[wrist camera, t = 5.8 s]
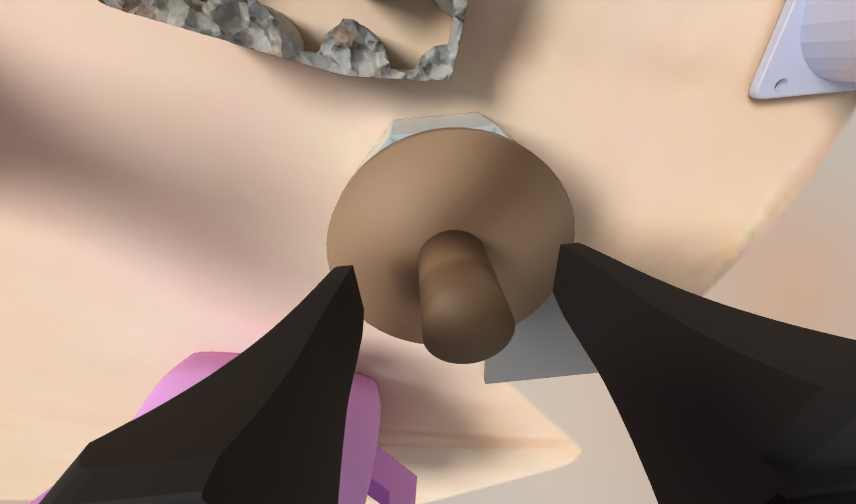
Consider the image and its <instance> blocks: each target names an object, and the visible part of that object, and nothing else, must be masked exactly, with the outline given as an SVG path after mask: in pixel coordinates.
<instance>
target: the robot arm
mask: <svg viewBox="0 0 856 504" xmlns="http://www.w3.org/2000/svg"><path fill="white" fill-rule="evenodd" d="M777 82H778V84H777V86H776V87H775V85H776V83H777ZM774 87H775V88H774ZM853 90H856V0H786V3H785V5H784V8H783V10H782V12H781V15H780V17H779V20H778V22H777V24H776V27H775V29H774V32H773V34H772V36H771V39H770V41H769V44H768V46H767V48H766V51H765V53H764V56H763V58H762V60H761V63H760V65H759V68H758V70H757V72H756V75H755V77H754V80H753V82H752V84H751V87H750V91H749V93H750V96H751V97H752V98H756V99H769V98H780V97H790V96H801V95H811V94H822V93H832V92H843V91H853ZM552 291H553V294H554V296H555V298H556V301H557V303H558V305H559V308H560V310H561V312H562V314H563V316H564V318H565V319H566V321H567V323H568V324H569V326H570V327H571V329H572V331H573V332H574V334H575V336H576V337H577V339H578V340H579V342H580V343H581V345H582V347H583V348H584V350H585V351H586V353H587V355H588V356H589V358H590V359H591V361H592V363H593V364H594V366H595V367H596V369H597V371H598V372H599V374H600V376H601V378H602V379H603V381H604V383H605V385H606V387H607V389H608V391H609V393H610V395H611V397H612V398H613V401H614V403H615V405H616V407H617V409H618V411H619V413H620V415H621V417H622V420H623V422H624V424H625V426H626V428H627V431H628V432H629V435H630V437H631V439H632V441H633V444H634V446H635V448H636V451H637V453H638V455H639V458H640V460H641V462H642V465H643V467H644V469H645V472H646V474H647V476H648V479H649V481H650V483H651V486H652V489H653V491H654V494H655V496H656V499H657V501H658V504H856V340H853V339H848V338H844V337H839V336H835V335H831V334H827V333H823V332H819V331H815V330H811V329H807V328H802V327H799V326H795V325H791V324H787V323H784V322H780V321H776V320H773V319H769V318H766V317H762V316H759V315H756V314H752V313H749V312H745V311H742V310H739V309H736V308H732V307H729V306H727V305H723V304H720V303H718V302H715V301H712V300H709V299H706V298H704V297H701V296H698V295H695V294H692V293H690V292H687V291H685V290H682V289H680V288H677V287H675V286H672V285H670V284H668V283H665V282H663V281H660V280H658V279H656V278H653V277H651V276H649V275H647V274H645V273H642V272H640V271H638V270H636V269H634V268H632V267H630V266H627V265H625V264H623V263H621V262H619V261H617V260H615V259H613V258H611V257H609V256H607V255H605V254H603V253H601V252H598V251H596V250H594V249H592V248H590V247H588V246H585V245H583V244H580V243H570V244H560V249H559V255H558V261H557V267H556V273H555V278H554V284H553V290H552ZM363 321H364V307H363V303H362V299H361V295H360V291H359V287H358V283H357V279H356V275H355V271H354V267H353V265H347V266H337V267H335V268H334V269H332V270H331V271H330V273H329V274H328V275H327V276H326V277H325V278H324V279H323V280H322V281H321V282H320V283H319V284H318V285H317V286H316V287H315V288H314V289H313V290H312V291H311V292H310V294H309V295H308V296H307V297H306V298H305V299H304V300H303V301H302V302H301V303H300V304H299V305H298V306H297V307H295V308H294V309H293V310H292V311H291V312H290V313H289V314H288V315H287V316H286V317H285V318H284V319H283V320H282V321H280V322H279V323H278V324H277V325H276V326H275V327H274V328H273V329H271V330H270V331H269V332H268V333H267V334H265V335H264V336H263V337H262V338H260V339H259V340H258V341H257V342H255V343H254V344H253V345H252V346H250V347H249V348H248V349H246V350H245V351H244V352H242V353H241V354H239V355H238V356H237V357H235V358H234V359H232V360H231V361H229V362H228V363H226V364H225V365H224V366H222V367H221V368H219V369H218V370H216V371H215V372H213V373H212V374H211V375H209V376H207V377H206V378H204V379H203V380H201V381H200V382H198V383H196V384H195V385H193V386H192V387H190V388H188V389H187V390H185V391H183V392H182V393H180V394H178V395H177V396H175V397H173V398H172V399H170V400H168V401H167V402H165V403H163V404H161V405H160V406H158V407H156V408H154V409H153V410H151V411H149V412H147V413H145V414H143V415H141V416H140V417H138V418H136V419H134V420H132V421H130V422H128V423H126V424H125V425H123V426H121V427H119V428H117V429H115V430H113V431H111V432H110V433H108V434H106V435H104V436H102V437H100V438H98V439H96V440H94V441H92V442H90V443H89V444H88V445H87V446H86V447H85V449H84V450H83V451H82V452H81V453H80V455H79V456H78V457H77V458H76V459H75V461H74V462H73V463H72V464H71V465H70V467H69V468H68V469H67V470H66V471H65V473H64V474H63V475H62V476H61V477H60V479H59V480H58V481H57V482H56V483H55V485H54V486H53V487H52V488H51V489H50V490H49V492H48V493H47V494H46V495H45V496H44V498H43V499H42V500H41V501H40V502H39V504H338V500H339V487H340V474H341V464H342V453H343V443H344V433H345V424H346V415H347V407H348V402H349V396H350V391H351V386H352V382H353V377H354V372H355V368H356V363H357V358H358V354H359V349H360V344H361V339H362V333H363Z"/></svg>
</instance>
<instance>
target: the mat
mask: <svg viewBox="0 0 856 504" xmlns="http://www.w3.org/2000/svg"><path fill="white" fill-rule="evenodd" d="M588 373H598V371H597V369H596V367H595V366H594V364H593V363H592V361H591V359H590V358H589V356H588V355H587V353H586V351H585V350H584V348H583V347H582V345H581V343H580V342H579V340H578V339H577V337H576V336H575V334H574V332H573V331H572V329H571V327H570V326H569V324H568V323H567V321H566V319H565V318H564V316H563V314H562V312H561V310H560V308H559V305H558V303H557V301H556V298H555V296H554V294H553V292H552V293H551V295H550V296H549V297H548V298H547V299H546V301H545V302H544V303H543V304H542V305H541V306H540V307H539V308H538V309H536V310H535V311H534V312H533V313H532V314H531V315H529V316H528V317H527V318H525V319H524V320H522V321H521V322H519V323H518V324H516V325H515V332H514V335H513V337H512V339H511V341H510V342H509V344H508V345H507V346H506V347H505V348H504V349H503V350H502V351H501V352H499V353H498V354H496V355H495V356H493V357H491V358H488V359H486V360H485V370H484V380H485V384H490V383H500V382H509V381H519V380H528V379H539V378H549V377H558V376H568V375H578V374H588Z"/></svg>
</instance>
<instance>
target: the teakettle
mask: <svg viewBox="0 0 856 504" xmlns="http://www.w3.org/2000/svg"><path fill="white" fill-rule="evenodd" d="M238 355H239V354H238V353H225V352H198V353H194V354H192V355H191V356H189V357H188V358H186V359H185V360H183V361H182V362H181V363H180V364H178V365H177V366H176V367H174V368H173V369H172V370H171V371H169V372H168V373H167V374H166V375H165V376H164V377H163V378H162V379H161V380H160V382H159V383H158V384H157V386H156V387H155V388H154V390H153V391H152V392H151V393H150V395H149V396H148V398H147V399H146V401H145V402H144V404H143V405H142V406H141V408H140V409H139V411H138V412H137V414H136V415H135V417H134V418H133V420H134V419H136V418H138V417H140V416H141V415H143V414H145V413H147V412H149V411H151V410H153V409H154V408H156V407H158V406H160V405H161V404H163V403H165V402H167V401H168V400H170V399H172V398H173V397H175V396H177V395H178V394H180V393H182V392H183V391H185V390H187V389H188V388H190V387H192V386H193V385H195V384H196V383H198V382H200V381H201V380H203V379H204V378H206V377H207V376H209V375H211V374H212V373H213V372H215V371H216V370H218V369H219V368H221V367H222V366H224V365H225V364H226V363H228V362H229V361H231V360H232V359H234V358H235V357H237V356H238ZM380 419H381V403H380V397H379V392H378V388H377V384H376V382H375V381H374V380H373V379H371V378H370V377H367V376H364V375H361V374H358V373H354V377H353V382H352V386H351V391H350V396H349V402H348V407H347V415H346V424H345V433H344V443H343V453H342V464H341V474H340V487H339V500H338V504H365V502H366V498H367V494H368V495H369V496H370V497H372V498H373V499H374V500H376V501H377V502H378V503H380V504H415V498H416V482H417V476H416V475H414V474H413V473H412V472H411V471H409V470H408V469H407V468H405V467H404V466H403V465H401V464H400V463H399V462H398V461H396V460H395V459H394V458H392V457H391V456H390V455H388V454H387V453H386V452H385V451H383V450H382V449H381V448H379V447H378V446H377V444H378V436H379V429H380ZM52 487H53V486H52ZM52 487H51V488H52ZM51 488H50V489H51ZM50 489H48V490H47V491H45V492H44V493H43V494H41V495H40V496H38V497H37V498H35V499H34V500H33V501H31V502H30V503H28V504H39V502H40V501H41V500H42V499H43V498H44V496H45V495H46V494H47V493H48V492H49V490H50Z"/></svg>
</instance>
